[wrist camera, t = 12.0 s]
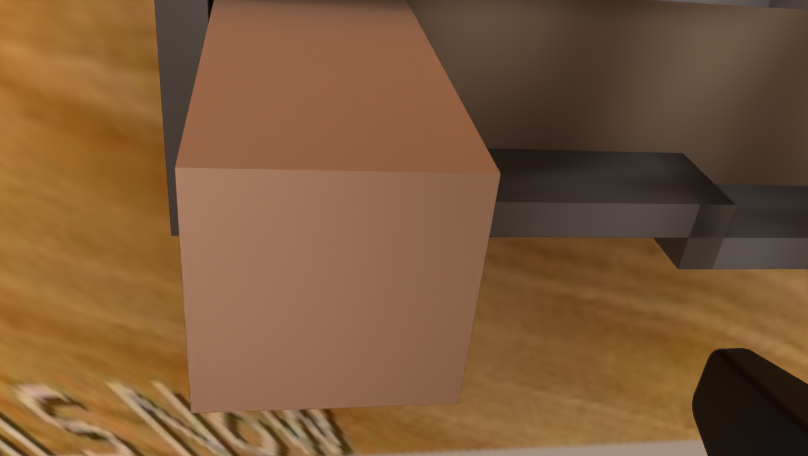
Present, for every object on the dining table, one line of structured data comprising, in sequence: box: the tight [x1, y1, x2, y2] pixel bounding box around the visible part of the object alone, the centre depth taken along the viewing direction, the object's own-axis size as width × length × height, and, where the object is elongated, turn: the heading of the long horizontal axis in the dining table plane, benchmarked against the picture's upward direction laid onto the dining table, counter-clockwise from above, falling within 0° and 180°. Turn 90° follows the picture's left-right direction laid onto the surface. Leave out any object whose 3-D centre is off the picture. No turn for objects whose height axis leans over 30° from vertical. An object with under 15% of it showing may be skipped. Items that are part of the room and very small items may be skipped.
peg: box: [175, 0, 500, 413], centre depth 15 cm, size 4×4×10 cm
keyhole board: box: [154, 0, 808, 269], centre depth 19 cm, size 22×10×4 cm, turn 84°
